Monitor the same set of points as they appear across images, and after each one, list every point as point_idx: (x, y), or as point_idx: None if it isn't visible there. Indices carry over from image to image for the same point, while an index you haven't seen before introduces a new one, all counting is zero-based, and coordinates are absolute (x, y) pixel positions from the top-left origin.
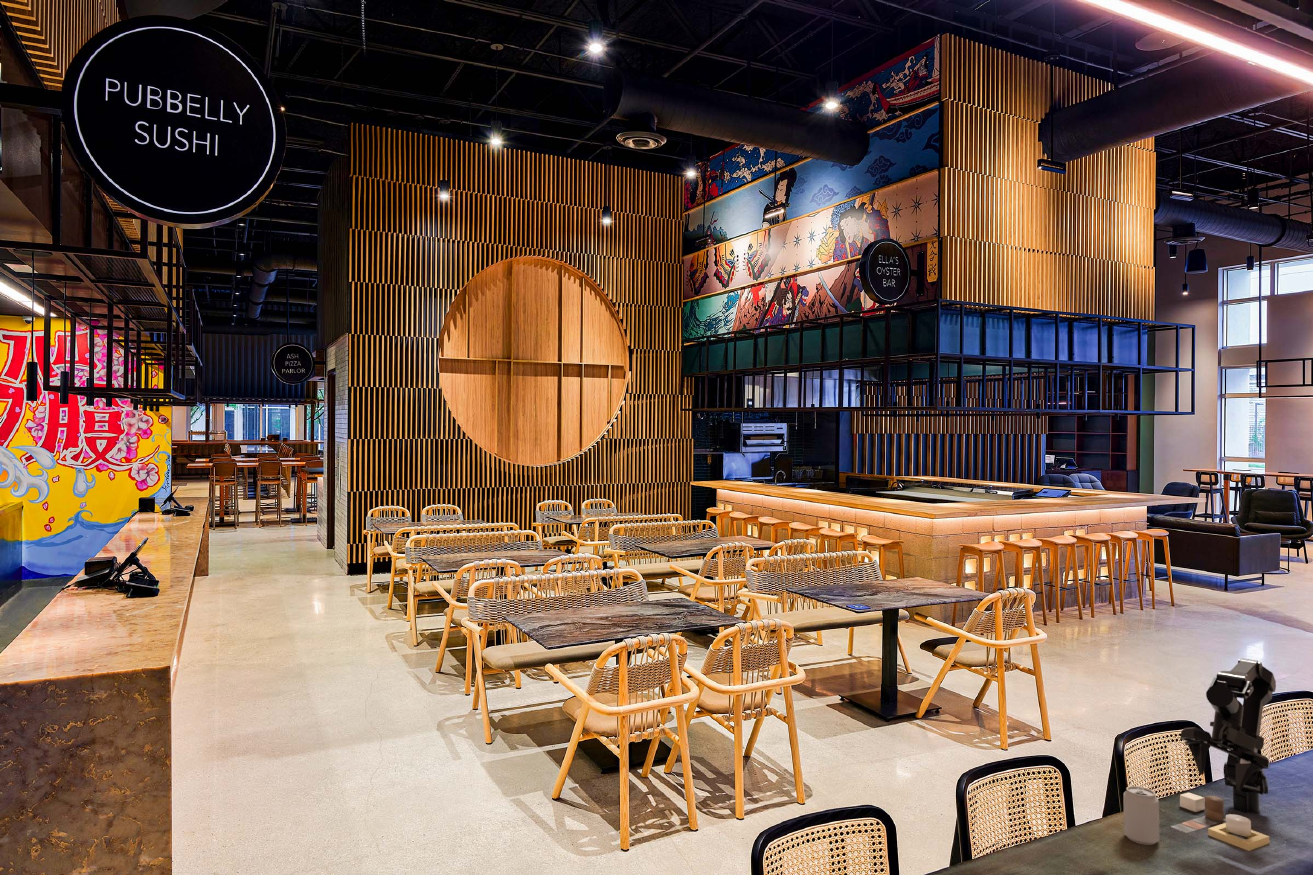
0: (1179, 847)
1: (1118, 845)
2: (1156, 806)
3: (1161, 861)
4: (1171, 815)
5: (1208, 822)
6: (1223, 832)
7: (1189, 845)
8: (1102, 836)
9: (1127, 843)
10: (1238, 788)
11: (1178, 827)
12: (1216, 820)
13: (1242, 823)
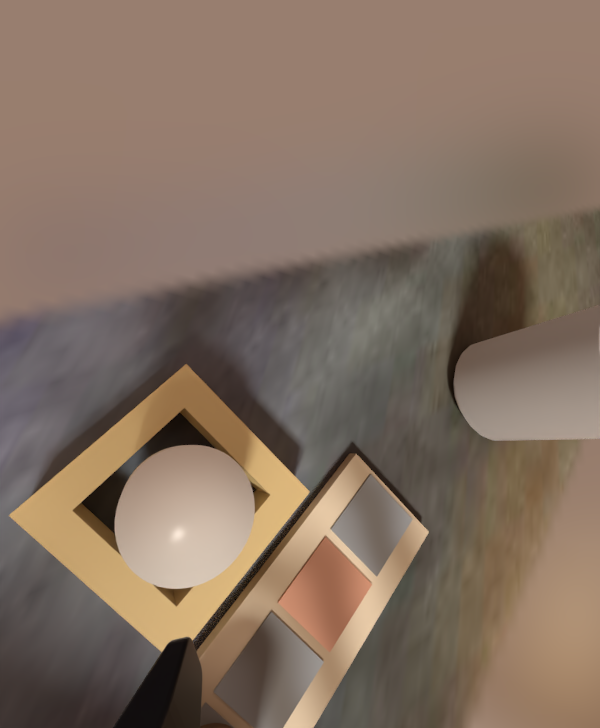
0: (399, 362)
1: None
2: (583, 319)
3: (451, 252)
4: (375, 716)
5: (254, 675)
6: (256, 468)
7: (368, 390)
8: None
9: None
10: (192, 658)
11: (387, 524)
12: (208, 725)
13: (188, 446)
